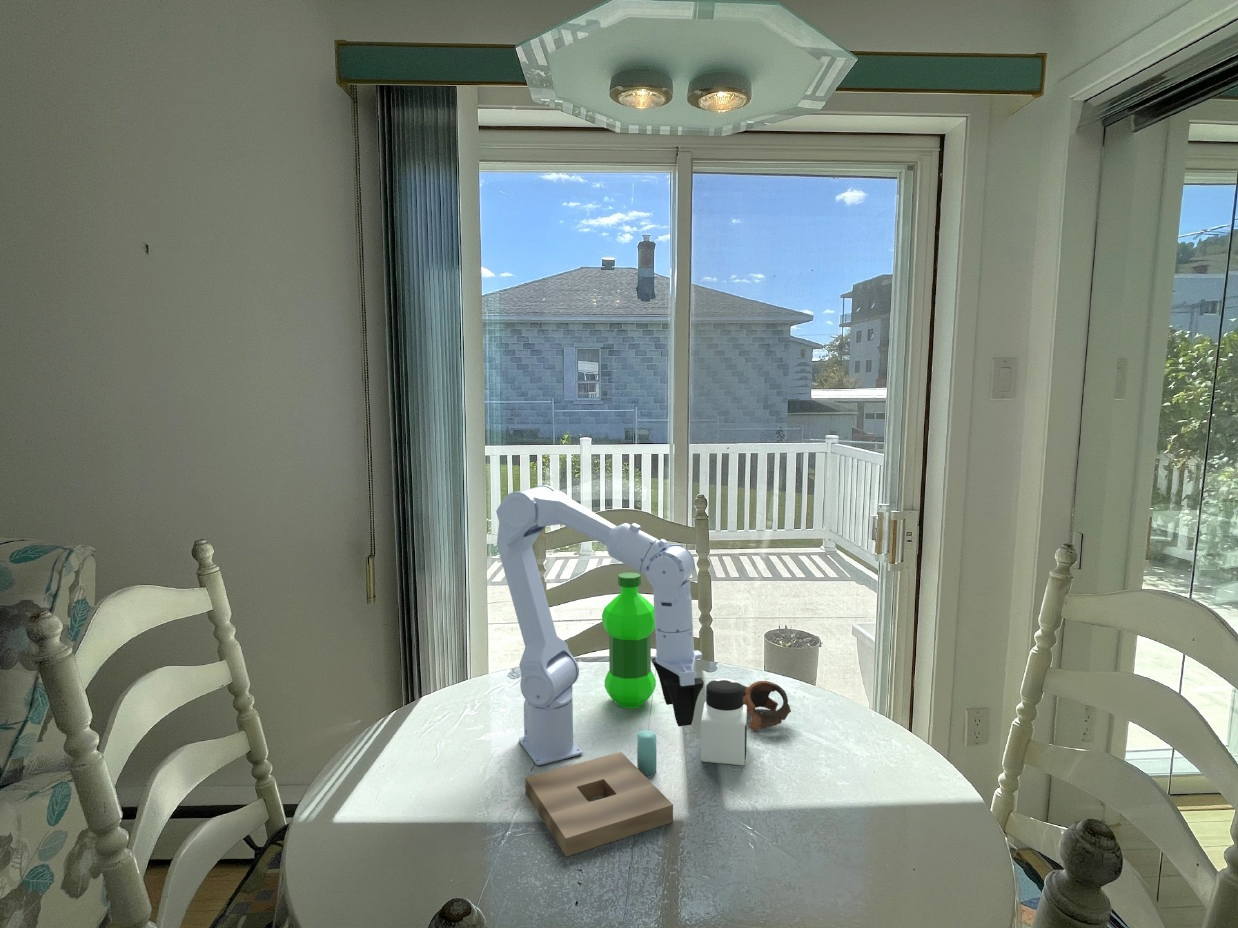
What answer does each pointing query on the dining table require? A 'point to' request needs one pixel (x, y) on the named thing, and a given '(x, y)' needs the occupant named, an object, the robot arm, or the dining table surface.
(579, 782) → the socket board
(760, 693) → the brown jagged ring
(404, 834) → the dining table surface
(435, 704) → the dining table surface
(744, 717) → the medicine bottle
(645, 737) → the peg
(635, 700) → the plastic bottle
